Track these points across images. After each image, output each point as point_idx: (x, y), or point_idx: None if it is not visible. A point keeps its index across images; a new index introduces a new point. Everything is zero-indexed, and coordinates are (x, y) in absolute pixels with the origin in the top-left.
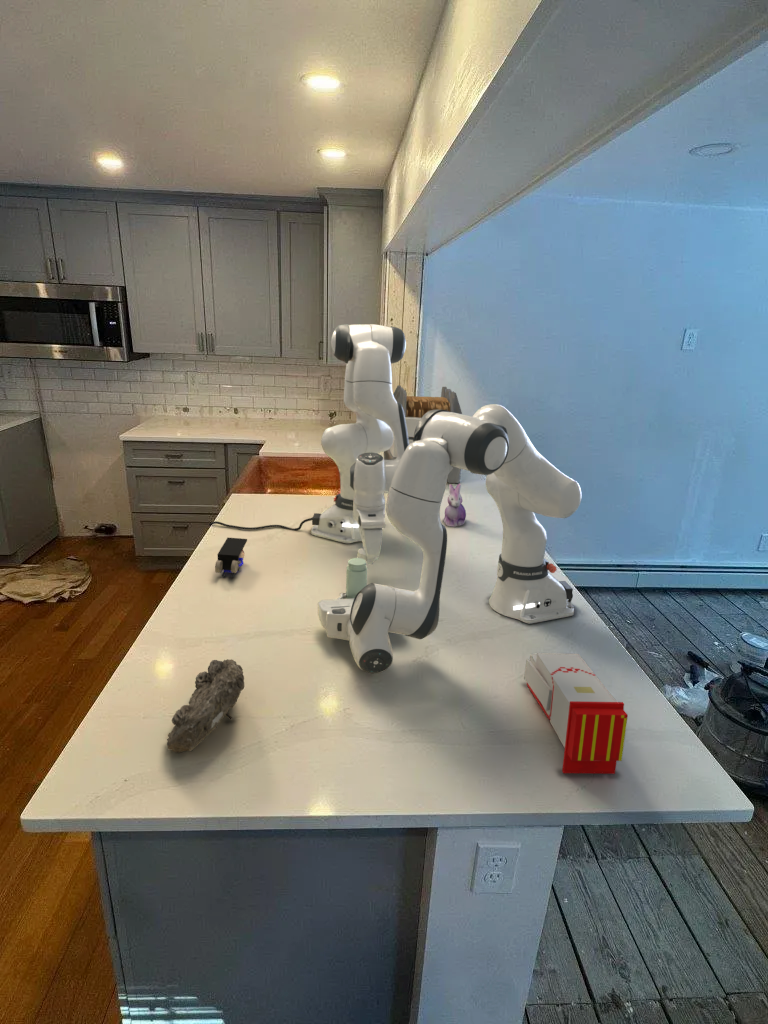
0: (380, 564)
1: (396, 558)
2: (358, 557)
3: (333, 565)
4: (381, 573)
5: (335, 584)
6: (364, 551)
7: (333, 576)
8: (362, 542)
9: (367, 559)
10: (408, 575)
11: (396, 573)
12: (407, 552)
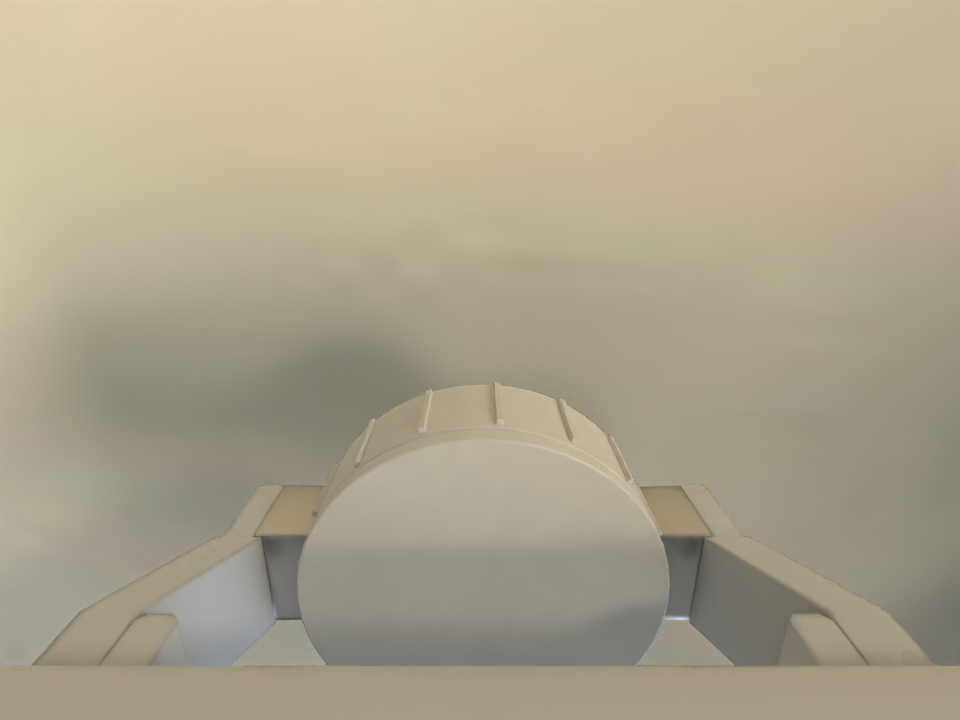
0: (801, 516)
1: None
2: (422, 399)
3: (927, 69)
4: None
5: (460, 56)
6: (465, 544)
7: (650, 47)
8: (396, 696)
9: (232, 531)
10: None
11: None
12: None
